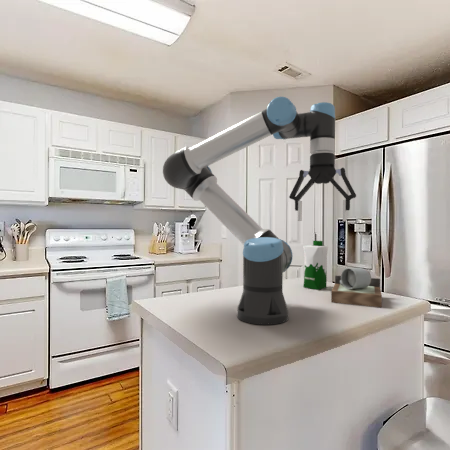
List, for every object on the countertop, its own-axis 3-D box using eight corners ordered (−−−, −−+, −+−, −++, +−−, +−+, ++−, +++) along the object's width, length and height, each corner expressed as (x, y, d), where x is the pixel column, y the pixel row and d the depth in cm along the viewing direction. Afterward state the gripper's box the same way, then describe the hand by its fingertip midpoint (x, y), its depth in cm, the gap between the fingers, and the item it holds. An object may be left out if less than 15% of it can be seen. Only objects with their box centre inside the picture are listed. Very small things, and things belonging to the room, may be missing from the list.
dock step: (331, 302, 114) (331, 282, 114) (335, 292, 129) (335, 275, 128) (381, 307, 107) (381, 286, 107) (379, 296, 122) (380, 278, 122)
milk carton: (329, 287, 138) (330, 241, 138) (318, 290, 132) (318, 242, 132) (311, 284, 145) (312, 240, 145) (300, 287, 139) (300, 241, 138)
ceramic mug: (373, 289, 116) (373, 267, 116) (356, 291, 112) (356, 269, 112) (350, 284, 125) (350, 264, 125) (334, 286, 122) (334, 265, 122)
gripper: (365, 153, 100) (364, 221, 101) (285, 158, 110) (285, 220, 111) (365, 148, 94) (364, 221, 94) (280, 154, 104) (280, 220, 104)
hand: (321, 221), depth 102 cm, fingers open, 13 cm apart
